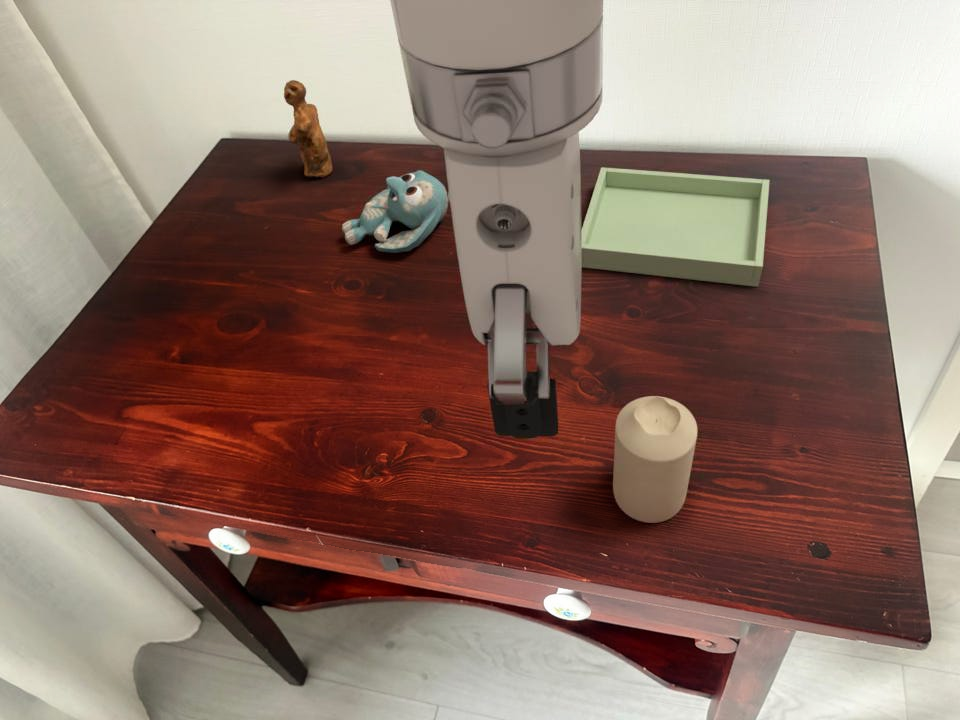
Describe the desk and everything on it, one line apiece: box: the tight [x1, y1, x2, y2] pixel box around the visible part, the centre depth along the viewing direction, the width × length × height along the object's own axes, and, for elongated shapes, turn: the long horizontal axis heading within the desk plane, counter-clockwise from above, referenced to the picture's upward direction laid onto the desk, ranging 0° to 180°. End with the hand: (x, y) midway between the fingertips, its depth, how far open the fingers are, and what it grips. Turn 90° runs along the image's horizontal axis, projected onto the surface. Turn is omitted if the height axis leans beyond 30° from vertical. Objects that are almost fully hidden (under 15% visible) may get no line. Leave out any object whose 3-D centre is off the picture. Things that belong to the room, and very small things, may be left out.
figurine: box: [283, 79, 334, 179], centre depth 87 cm, size 5×6×12 cm
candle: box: [612, 395, 698, 524], centre depth 54 cm, size 6×6×10 cm
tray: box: [581, 167, 771, 288], centre depth 76 cm, size 17×13×3 cm
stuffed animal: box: [341, 169, 449, 254], centre depth 80 cm, size 11×7×12 cm
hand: (531, 359), depth 42 cm, fingers open, 9 cm apart
